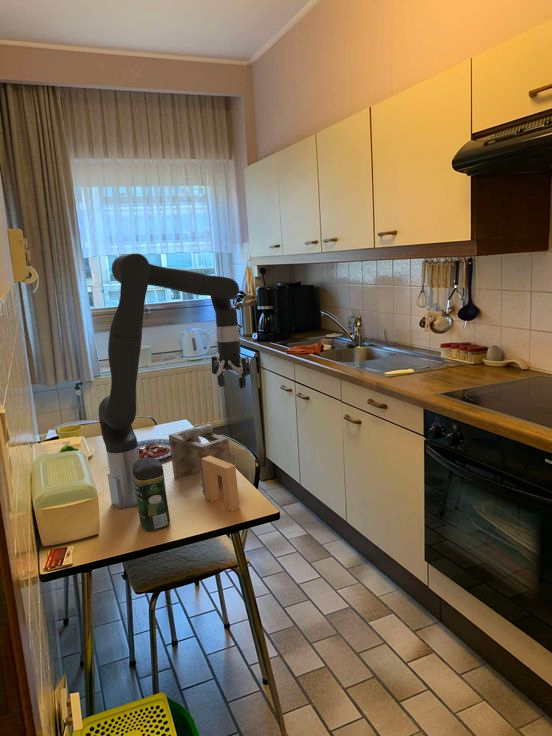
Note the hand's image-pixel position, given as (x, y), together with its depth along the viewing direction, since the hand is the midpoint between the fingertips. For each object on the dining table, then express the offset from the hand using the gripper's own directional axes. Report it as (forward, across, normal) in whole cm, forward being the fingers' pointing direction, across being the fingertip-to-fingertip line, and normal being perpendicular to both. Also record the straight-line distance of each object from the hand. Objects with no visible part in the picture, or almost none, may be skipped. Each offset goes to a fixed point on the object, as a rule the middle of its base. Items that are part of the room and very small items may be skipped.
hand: (232, 387), depth 189 cm
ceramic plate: (+29, -42, -2) cm, 51 cm away
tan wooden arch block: (+29, +13, -26) cm, 40 cm away
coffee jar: (+29, +3, -43) cm, 52 cm away
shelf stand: (+28, -4, -14) cm, 32 cm away
